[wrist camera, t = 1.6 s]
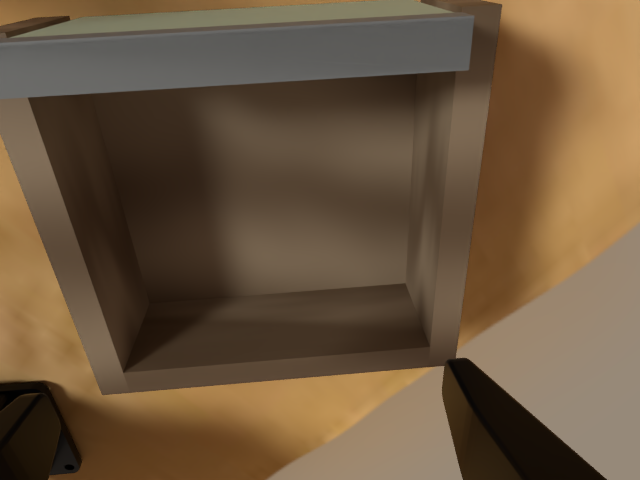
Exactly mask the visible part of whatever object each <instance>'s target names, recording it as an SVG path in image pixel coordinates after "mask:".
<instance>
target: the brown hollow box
mask: <svg viewBox="0 0 640 480" xmlns="http://www.w3.org/2000/svg"><path fill="white" fill-rule="evenodd" d="M421 3H424V4H428V5H431V6H434V7H438V8H441V9H445V10H448V11H451V12H455V13H456V12H463V13H467V14H470V15H474V25H473V35H472V44H471V53H470V63H469V70H465V71H448V72H432V73H416V74H400V75H384V76H367V77H351V78H335V79H319V80H303V81H287V82H270V83H254V84H238V85H222V86H206V87H189V88H173V89H157V90H141V91H125V92H108V93H92V94H76V95H60V96H44V97H28V98H11V99H0V134H1V137H2V139H3V142H4V145H5V147H6V150H7V152H8V155H9V157H10V160H11V163H12V165H13V168H14V170H15V173H16V175H17V178H18V180H19V183H20V186H21V188H22V191H23V193H24V196H25V198H26V201H27V204H28V206H29V209H30V211H31V214H32V216H33V219H34V221H35V224H36V227H37V229H38V232H39V234H40V237H41V239H42V242H43V245H44V247H45V250H46V252H47V255H48V257H49V260H50V262H51V265H52V268H53V270H54V273H55V275H56V278H57V280H58V283H59V286H60V288H61V291H62V293H63V296H64V298H65V301H66V304H67V306H68V309H69V311H70V314H71V316H72V319H73V321H74V324H75V327H76V329H77V332H78V334H79V337H80V339H81V342H82V345H83V347H84V350H85V352H86V355H87V357H88V360H89V362H90V365H91V368H92V370H93V373H94V375H95V378H96V380H97V383H98V386H99V388H100V391H101V393H102V395H109V394H121V393H133V392H144V391H156V390H167V389H179V388H191V387H202V386H214V385H226V384H237V383H249V382H261V381H272V380H284V379H295V378H307V377H319V376H330V375H342V374H354V373H365V372H377V371H389V370H400V369H412V368H423V367H435V366H445V363H446V361H447V360H448V359H456V351H457V343H458V336H459V328H460V321H461V313H462V305H463V298H464V290H465V283H466V275H467V267H468V260H469V252H470V245H471V237H472V229H473V222H474V214H475V207H476V199H477V191H478V184H479V176H480V169H481V161H482V153H483V146H484V138H485V131H486V123H487V116H488V108H489V100H490V93H491V85H492V78H493V70H494V62H495V55H496V47H497V40H498V32H499V24H500V17H501V9H502V4H497V3H492V2H487V1H482V0H421ZM67 21H70V18H69V16H59V17H41V18H33V19H29V20H24V21H20V22H16V23H11V24H7V25H3V26H0V38H10V37H14V36H17V35H21V34H24V33H28V32H31V31H35V30H39V29H42V28H46V27H49V26H53V25H56V24H60V23H63V22H67Z"/></svg>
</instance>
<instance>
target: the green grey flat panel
mask: <svg viewBox="0 0 640 480" xmlns="http://www.w3.org/2000/svg"><path fill="white" fill-rule="evenodd" d="M473 25H474V15H470V14H467V13H463V12H456V13H455V12H451V11H448V10H445V9H441V8H438V7H434V6H431V5H428V4H424V3H421V2H418V1H414V0H379V1H361V2H343V3H325V4H307V5H289V6H271V7H253V8H235V9H217V10H199V11H181V12H163V13H145V14H127V15H109V16H91V17H81V18H77V19H74V20H70V21H67V22H63V23H60V24H56V25H53V26H49V27H46V28H42V29H39V30H35V31H31V32H28V33H24V34H21V35H17V36H14V37H10V38H0V99H11V98H28V97H44V96H60V95H76V94H92V93H108V92H125V91H141V90H157V89H173V88H189V87H206V86H222V85H238V84H254V83H270V82H287V81H303V80H319V79H335V78H351V77H367V76H384V75H400V74H416V73H432V72H448V71H465V70H469V63H470V53H471V44H472V35H473Z"/></svg>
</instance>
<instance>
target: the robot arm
mask: <svg viewBox="0 0 640 480" xmlns="http://www.w3.org/2000/svg"><path fill="white" fill-rule="evenodd" d="M442 396H443V402H444V406H445V410H446V413H447V418H448V422H449V426H450V430H451V435H452V439H453V442H454V447H455V451H456V455H457V459H458V463H459V467H460V471H461V474H462V478H463V480H607V479H606V478H604V477H603V476H602V475H601V474H600V473H599V472H597V471H596V470H595V469H594V468H593V467H592V466H590V464H588V463H587V462H586V461H585V460H584V459H583V458H582V457H580V456H579V455H578V454H577V453H576V452H575V451H573V450H572V449H571V448H570V447H569V446H568V445H567V444H565V443H564V442H563V441H562V440H561V439H560V438H558V437H557V436H556V435H555V434H554V433H553V432H552V431H551V430H549V429H548V428H547V427H546V426H545V425H544V424H543V423H541V422H540V421H539V420H538V419H537V418H536V417H535V416H533V415H532V414H531V413H530V412H529V411H528V410H526V409H525V408H524V407H523V406H522V405H521V404H520V403H519V402H517V401H516V400H515V399H514V398H513V397H512V396H510V395H509V394H508V393H507V392H506V391H505V390H504V389H502V388H501V387H500V386H499V385H498V384H497V383H496V382H494V381H493V380H492V379H491V378H490V377H489V376H488V375H486V374H485V373H484V372H483V371H482V370H481V369H479V368H478V367H477V366H476V365H475V364H474V363H473V362H471V361H470V360H469V359H467V358H457V359H448V360H447V361H446V363H445V367H444V375H443V385H442ZM81 463H82V460H81V457H80V455H79V453H78V451H77V449H76V447H75V445H74V442H73V440H72V438H71V436H70V434H69V432H68V430H67V427H66V425H65V423H64V421H63V419H62V417H61V415H60V412H59V410H58V408H57V406H56V404H55V402H54V399H53V397H52V395H51V393H50V391H49V389H48V388H47V386H45V385H44V384H42V383H36V382H34V383H22V384H10V385H0V480H48V478H49V475H56V474H67V473H75V472H77V471H78V470H79V468H80V466H81Z"/></svg>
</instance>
